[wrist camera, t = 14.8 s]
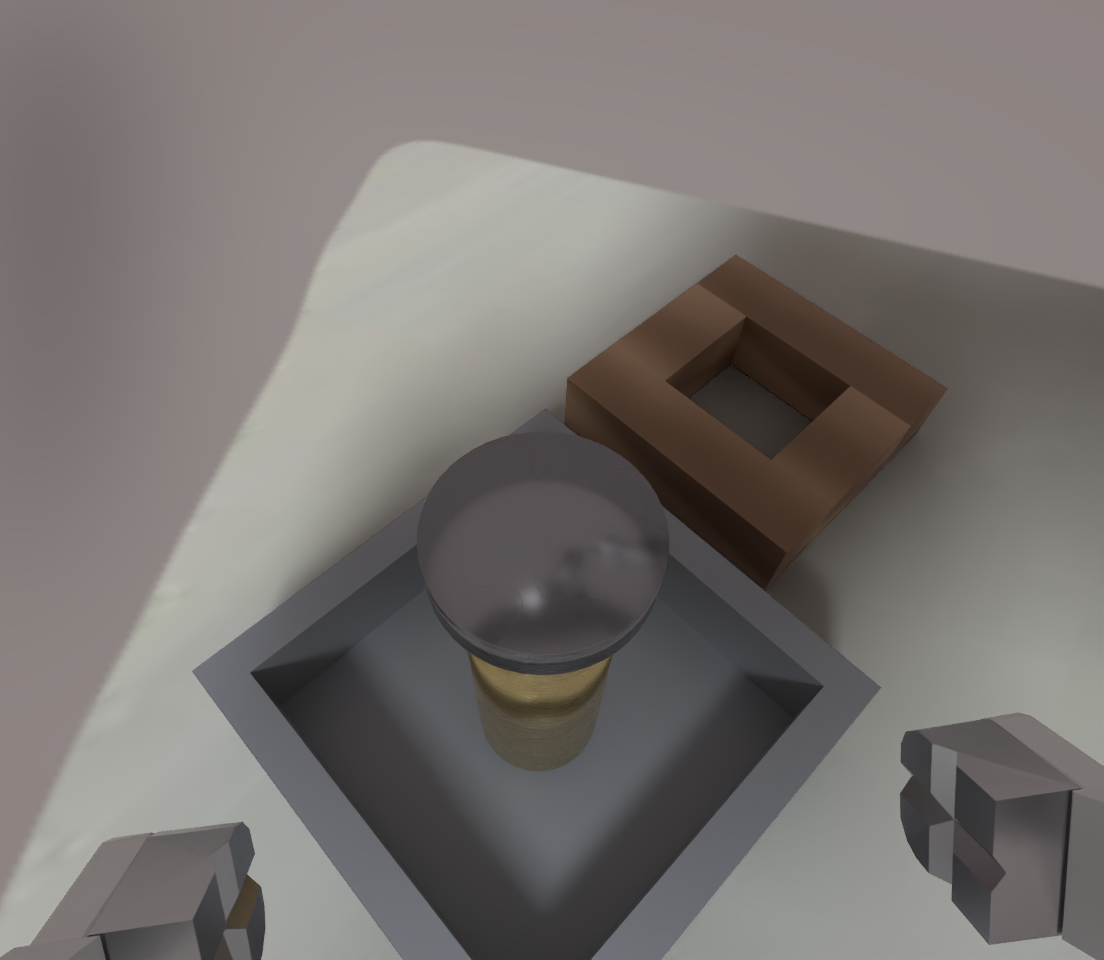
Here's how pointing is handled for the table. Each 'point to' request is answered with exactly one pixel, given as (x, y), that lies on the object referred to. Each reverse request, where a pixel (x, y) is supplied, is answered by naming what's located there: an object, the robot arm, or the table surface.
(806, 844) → the table surface
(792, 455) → the socket block
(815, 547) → the table surface
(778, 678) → the pin tray
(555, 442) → the lock pin
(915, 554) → the table surface
